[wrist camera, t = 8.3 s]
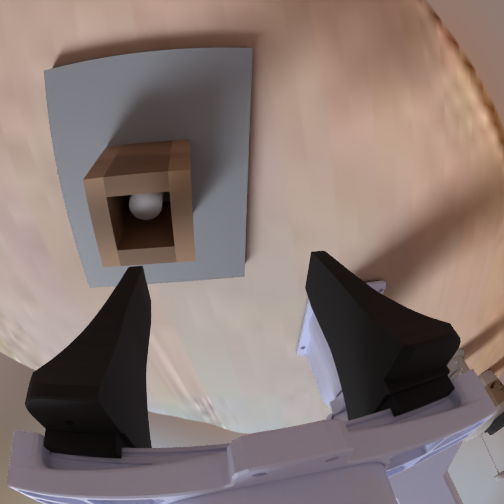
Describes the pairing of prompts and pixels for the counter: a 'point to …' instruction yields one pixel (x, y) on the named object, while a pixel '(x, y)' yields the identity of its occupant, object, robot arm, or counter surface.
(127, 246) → the walnut collar
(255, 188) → the counter surface
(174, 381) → the counter surface
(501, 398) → the coffee cup
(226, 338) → the counter surface
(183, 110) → the pin plate
